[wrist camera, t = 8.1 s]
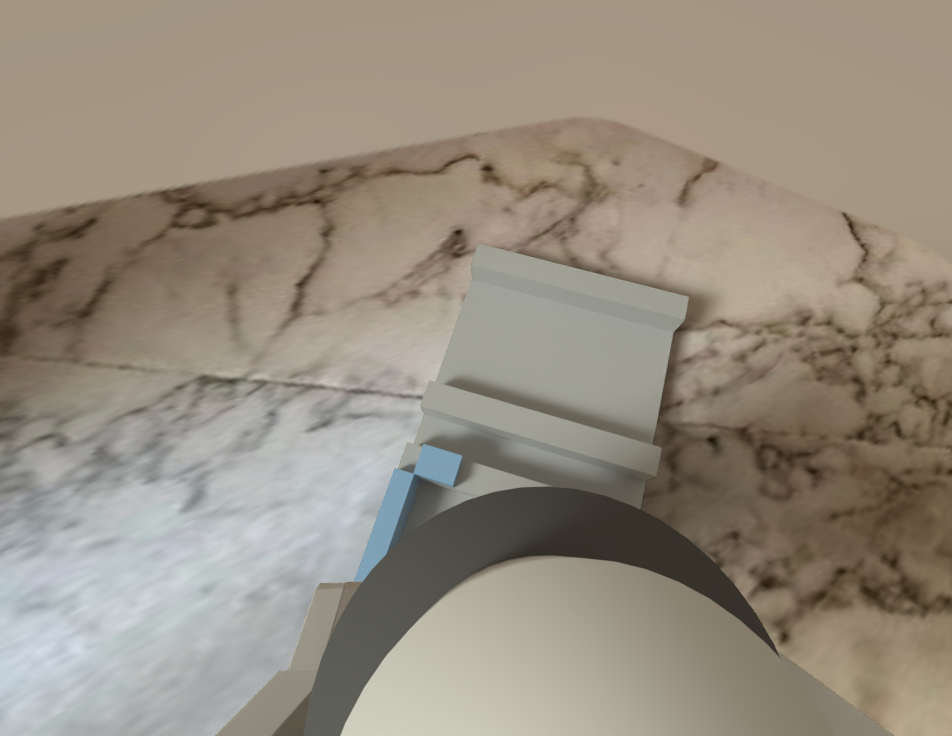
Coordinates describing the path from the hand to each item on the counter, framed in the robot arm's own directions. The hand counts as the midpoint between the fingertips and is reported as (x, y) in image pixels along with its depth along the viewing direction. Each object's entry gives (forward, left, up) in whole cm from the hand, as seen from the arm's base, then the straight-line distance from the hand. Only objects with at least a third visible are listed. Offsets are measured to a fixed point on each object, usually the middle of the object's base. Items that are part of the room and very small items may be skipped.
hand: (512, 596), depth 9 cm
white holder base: (0, +3, -13) cm, 13 cm away
